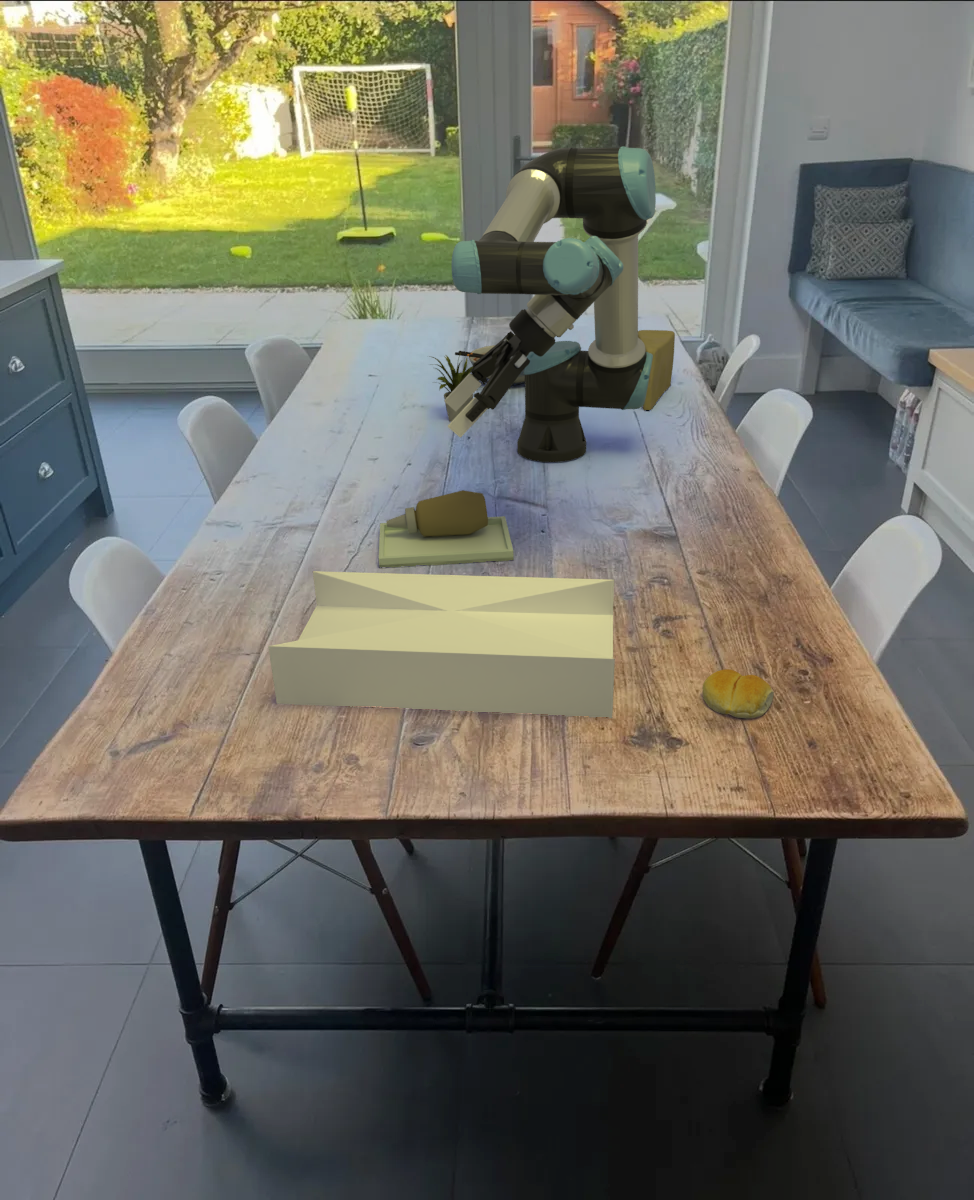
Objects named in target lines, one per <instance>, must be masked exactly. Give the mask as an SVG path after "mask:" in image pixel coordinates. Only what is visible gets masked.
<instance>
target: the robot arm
mask: <svg viewBox="0 0 974 1200" xmlns="http://www.w3.org/2000/svg"><path fill="white" fill-rule="evenodd" d="M653 163H654V162H653V160H652V157H651V155H650V153H649V152H648V151H647V150H646V149H644V148H640V147H639V148H638V147H628V146H620V147H583V148H582V147H562V148H557V149H554V150H550V151H548V152H545V153H542V154H541V155H539V156H537V157H535V158H533V159H532V160H531V161H529V162H527V163H526V164H524V165H523V166H522V167H521V168H520V169H518V170H517V171H516V172H515V174H514V175H513V176H512V178H511V180H510V181H509V183H508V185H507V188H506V193H505V200H504V201H503V202H502V205H500V208H499V209H498V211H497V212H496V214H495V215H494V217H493V218H492V220H491V222H490V223H489V224H488V225H487V228H486V230H485V231H484V232H483V234H482V236H481V237H480V239H479V240H475V239H471V240H462V241H459V242H457V243H456V244H455V246H454V248H453V250H452V256H451V278H452V282H453V285H454V287H455V289H456V290H458V292H461V293H471V294H472V293H473V294H474V293H475V294H477V295H481V294H483V295H484V294H486V295H487V294H488V295H489V294H490V295H496V294H497V295H532V298H530V300H529V301H528V302H527V303H526V307H527V309H525V308H524V309H521V310H520V311H519V312H518V313H517V314H516V315H515V317H514V318H513V319H512V320H511V321H509V325H508V326H509V329H510V330H511V331H509V332H507V333H506V335H505V336H504V337H503V338H502V339H501V340H500V341H499V342H497V343H496V344H495V346H494V347H493V348H492V349H490V350H489V351H488V352H487V353H486V354H484V355H483V356H482V357H481V358H480V359H478V360H477V361H476V362H474V364H473V365H472V366H471V367H474V368H472V369H471V373H469V374H468V375H467V376H466V377H465V379H464V380H463V381H462V382H461V383H460V384H459V385H458V386H457V387H456V388H455V389H454V390H453V391H452V392H451V394H450V395H449V396H448V397H447V398H446V399H444V400H443V401H444V403H447V404H448V405H449V406H450V407H451V408H452V409H453V410H455V411H457V410H458V409H459V408H460V407H461V406H462V405H463V404H464V403H465V402H466V401H467V399H468V398H469V397H470V396H471V395H472V394H473V399H472V400H471V401H470V403H469V404H468V405H467V406H466V407H465V408H464V409H463V410H462V411H461V412H460V413H459V414H458V415H457V416H456V417H455V418H454V420H453V421H452V422H449V423H448V425H447V428H448V429H449V430H451V431H452V433H454V434H455V435H457V436H458V437H459V438H460V439H461V438H462V437H463V435H465V433H466V432H468V431H469V429H470V428H471V427H472V426H474V424H476V422H477V421H478V420H479V419H480V418H481V417H482V416H483V414H485V412H487V411H488V410H489V409H490V410H494V409H496V408H497V406H498V404H499V403H500V402H501V400H503V398H504V397H505V395H506V393H507V392H508V391H509V389H510V388H511V387H512V386H513V385H512V384H513V383H514V381H515V380H516V379H517V377H518V376H519V375H520V373H521V372H522V371H523V370H524V369H525V370H524V374H525V382H524V420H523V424H522V427H521V430H520V432H519V433H520V434H519V437H518V439H517V445H516V446H517V449H516V450H517V454H518V455H519V456H521V457H523V458H524V459H526V460H529V461H534V462H540V463H562V462H568V461H574V460H576V459H579V458H581V457H583V456H584V455H585V454H586V453H587V439H586V436H585V433H584V429H583V426H582V422H581V419H580V408H596V409H597V408H598V409H611V410H613V409H615V410H617V409H618V410H621V411H624V410H639V409H641V408H643V405H644V403H645V398H646V393H647V388H648V382H649V377H650V371H651V366H652V360H653V355H652V354H651V353H648V352H645V345H644V343H643V341H642V340H640V339H639V338H638V331H639V234H640V233H642V232H643V231H644V230H645V228H647V225H648V224H647V223H648V222H647V221H648V220H650V219H652V218H653V217H654V216H655V212H656V203H657V202H656V177H655V169H654V164H653ZM552 219H582V227H583V231H584V232H585V234H587V235H588V236H589V237H588V238H587V239H586V240H585V241H582V239H579V238H572V237H568V238H567V237H565V238H562V239H560V240H557V241H535V240H536V239H537V237H538V235H539V233H540V231H541V229H542V228H543V225H544V224H547V223H548V222H549V221H551V220H552ZM533 295H534V296H533ZM592 305H593V313H594V314H593V315H594V316H593V317H594V340H593V341H592V342H591V343H590V345H589V347H588V348H587V349H588V350H582V347H581V344H580V343H579V342H577V341H572V340H558V341H557V340H556V338H561V337H562V336H563V335H564V334H565V333H566V332H567V331H568V330H569V331H571V330H574V326H575V325H574V323H576V321H577V320H578V319H580V318H581V316H582V315H583V314H584V313H585V312H586V311H587V310H588V309H589V307H591V306H592ZM490 375H492V376H491V377H490V379H488V378H487V377H489V376H490ZM479 380H480V381H479ZM482 384H483V385H484V387H483V388H482V390H480V391H481V392H480V393H479V392H476V391H477V390H478V389H479V388H480V387H481V386H482ZM475 392H476V393H475Z"/></svg>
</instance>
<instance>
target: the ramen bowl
mask: <svg viewBox="0 0 974 1200" xmlns="http://www.w3.org/2000/svg"><path fill="white" fill-rule="evenodd" d="M495 345H496V344H495ZM495 345H492V344H491V345H487V346H483V347H479V348H475V349H473V350H472V351H464V350H459V351H456V352H454V355H455V356H459V355H460V357H468V359H469V361H470V363H471V365H472V366H473V364H474V362H476V361H477V360H478V359H480V358H481V357H482V356H483V355H484V354H486V353H487V352H488V351H489V350H490V349H492V348H493V347H494V346H495ZM460 353H461V354H460ZM524 370H525V369H524ZM524 370H523V371H522V372H521V373H520V375H519V376H518V377H517V379H516V380H515V381H514V383H513V384H512V385H511V386H516V385H521V384H523V383H524V384H525V374H524ZM491 376H492V375H490V376H489V377H487V380H489V379H490V377H491Z"/></svg>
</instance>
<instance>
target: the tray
mask: <svg viewBox="0 0 974 1200" xmlns="http://www.w3.org/2000/svg"><path fill="white" fill-rule="evenodd" d="M378 539H379V543H378V566H379V567H392V568H402V567H401V566H410V567H417V566H416V565H427V566H442V565H458V564H459V563H462V564H474V563H473V562H479V563H487V562H486V561H496V562H509V560H515V559H514V549H513V544H512V540H511V535H510V531H509V526H508V522H507V519H506V516H503V515H501V516H488V525H487V526H486V527H484V528H482V529H479V530H477V531H475V532H473V533H471V534H468V535H448V536H428V537H424V536H423V535H422V534H421V533H420V531H419V529H418V532H417V533H411V534H409V532H408V529H407V528H392V527H387V522H381V523H379V538H378ZM459 565H460V564H459Z"/></svg>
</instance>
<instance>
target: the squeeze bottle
mask: <svg viewBox="0 0 974 1200" xmlns="http://www.w3.org/2000/svg"><path fill="white" fill-rule="evenodd" d="M488 517H489V516H488V510H487V502H486V498H485V495H484V493H483V492H476V491H475V492H474V491H471V490H465V489H463V490H459V491H454V492H450V493H447V494H442V495H439V496H435V497H434V496H433V497H430V498H426V499H422V500H419V501H418V502H417V504H416V506H415V507H414V506H413V507H407V508H404V514H401V515H398V516H396V517H392V518H390V519H387V520H386V522H385V523H387V527H392V528H407V529H408V532H409V534H411V533H417V532H418V529H419V531H420V533H421V534H422V535H423V536H424V537H428V536H448V535H468V534H471V533H473V532H475V531H477V530H479V529H482V528H484V527H486V526H487V525H488Z"/></svg>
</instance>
